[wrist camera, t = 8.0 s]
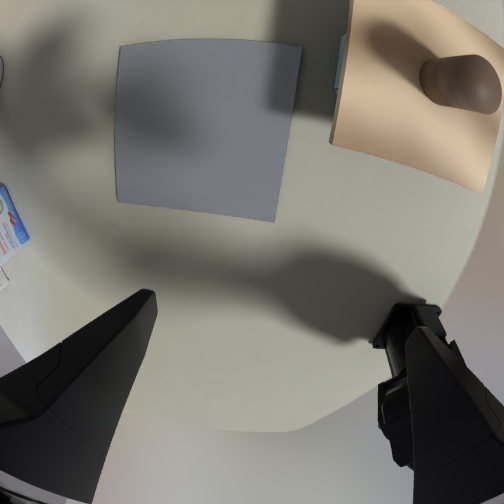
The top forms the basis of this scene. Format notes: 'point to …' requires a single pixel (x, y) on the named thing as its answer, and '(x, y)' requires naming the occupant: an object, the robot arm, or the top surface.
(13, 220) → the medicine box
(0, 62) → the cupcake
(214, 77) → the mat
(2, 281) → the supplement box
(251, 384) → the top surface
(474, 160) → the lid
